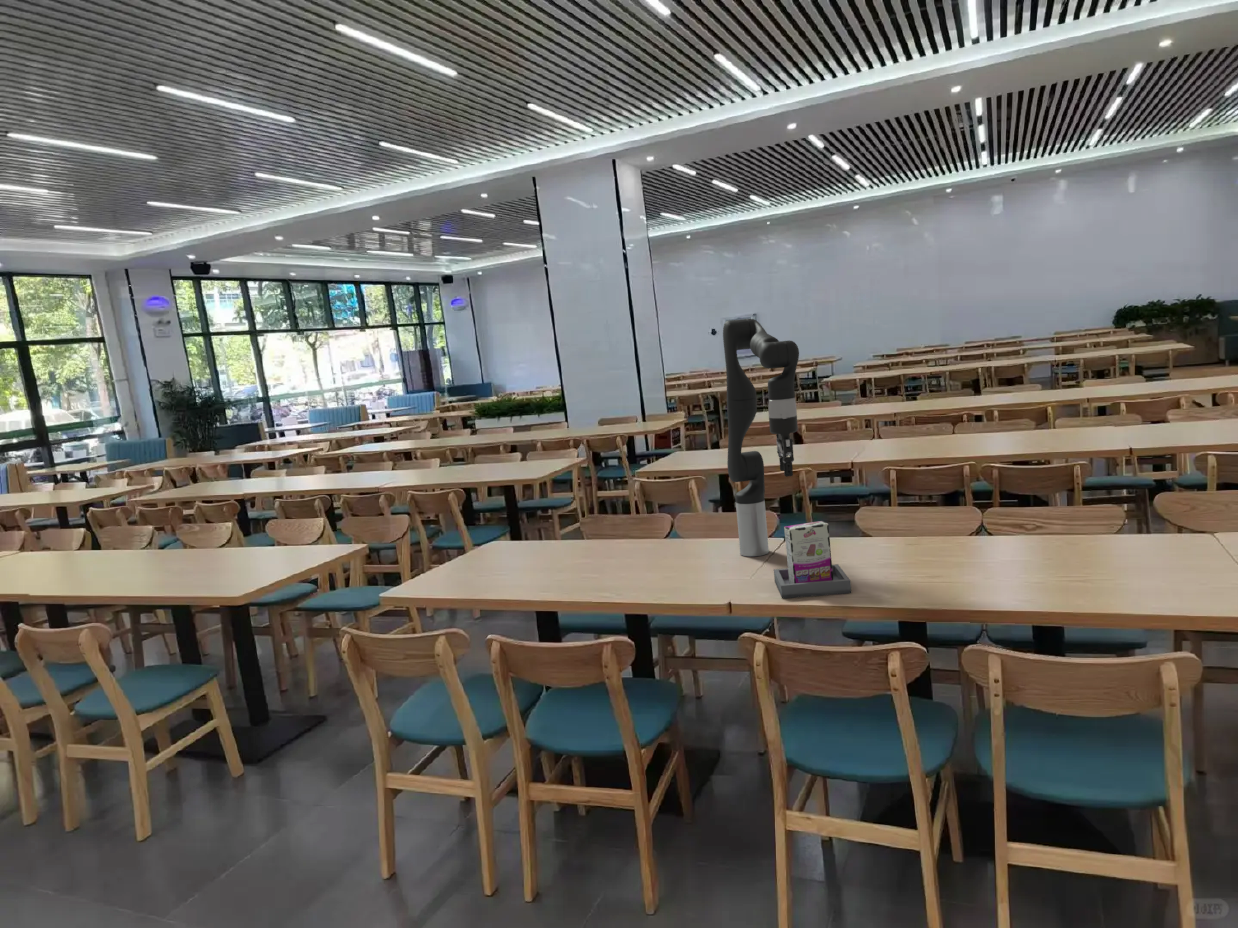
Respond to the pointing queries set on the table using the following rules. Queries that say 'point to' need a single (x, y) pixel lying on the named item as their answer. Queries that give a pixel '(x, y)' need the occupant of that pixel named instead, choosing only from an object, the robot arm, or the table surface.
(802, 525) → the candy bar box
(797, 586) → the tray
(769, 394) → the robot arm
